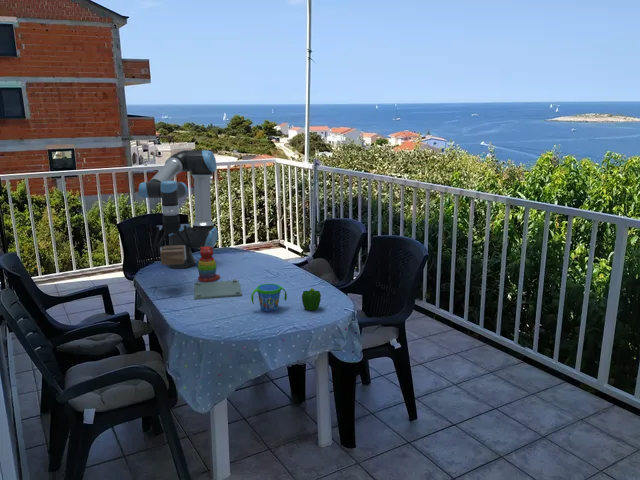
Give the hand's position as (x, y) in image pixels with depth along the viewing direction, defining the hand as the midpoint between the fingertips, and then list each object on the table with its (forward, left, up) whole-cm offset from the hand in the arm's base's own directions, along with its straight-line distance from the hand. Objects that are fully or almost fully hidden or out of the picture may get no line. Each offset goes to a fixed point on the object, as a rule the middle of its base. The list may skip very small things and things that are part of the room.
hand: (173, 259), depth 250 cm
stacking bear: (-15, +16, -16) cm, 27 cm away
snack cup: (+35, +41, -16) cm, 56 cm away
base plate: (+4, +20, -16) cm, 26 cm away
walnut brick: (0, 0, -1) cm, 1 cm away
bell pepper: (+39, +59, -16) cm, 72 cm away
